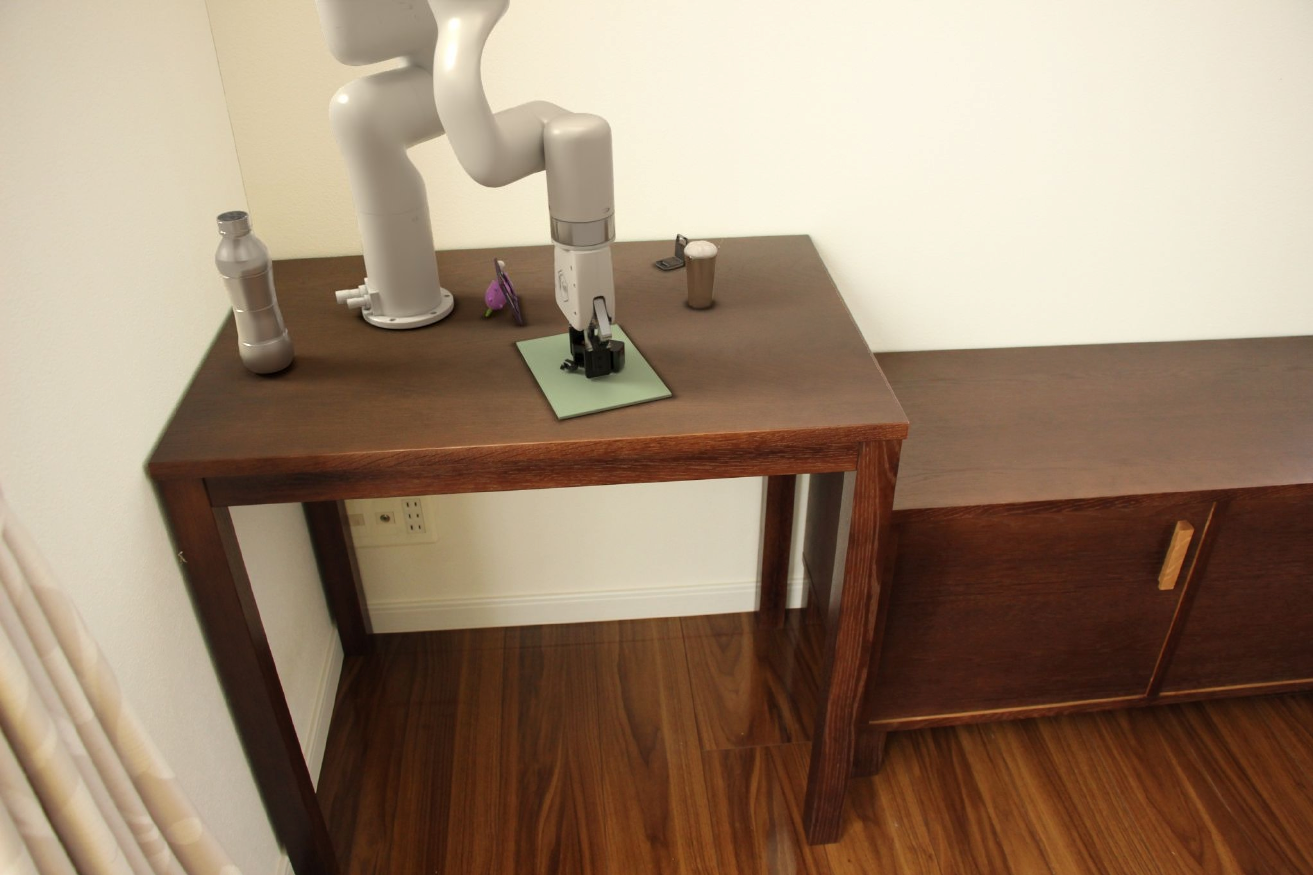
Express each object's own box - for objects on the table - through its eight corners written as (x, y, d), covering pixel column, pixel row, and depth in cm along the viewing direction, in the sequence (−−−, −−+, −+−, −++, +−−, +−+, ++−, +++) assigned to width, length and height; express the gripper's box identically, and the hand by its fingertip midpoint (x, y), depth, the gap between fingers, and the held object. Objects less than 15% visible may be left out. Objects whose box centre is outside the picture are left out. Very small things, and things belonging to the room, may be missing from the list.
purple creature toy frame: (506, 281, 130) (501, 255, 138) (470, 296, 131) (467, 270, 138) (527, 322, 134) (521, 295, 142) (492, 337, 134) (488, 309, 142)
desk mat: (559, 420, 114) (559, 417, 114) (516, 344, 130) (516, 342, 130) (671, 396, 118) (671, 393, 118) (617, 326, 134) (617, 323, 134)
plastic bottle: (248, 384, 122) (206, 230, 111) (240, 361, 127) (199, 212, 116) (302, 372, 124) (266, 220, 113) (292, 350, 129) (256, 202, 118)
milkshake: (719, 312, 137) (720, 244, 132) (681, 309, 138) (681, 242, 133) (723, 298, 141) (725, 232, 135) (686, 295, 142) (687, 229, 136)
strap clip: (699, 252, 155) (699, 226, 153) (710, 258, 153) (711, 232, 151) (653, 264, 151) (653, 238, 149) (664, 271, 149) (664, 244, 147)
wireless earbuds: (574, 356, 126) (573, 333, 124) (626, 364, 124) (626, 341, 122) (559, 372, 123) (558, 349, 121) (612, 382, 120) (611, 358, 119)
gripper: (531, 207, 119) (543, 340, 129) (573, 258, 106) (582, 403, 116) (591, 198, 121) (597, 330, 131) (638, 248, 108) (642, 391, 118)
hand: (590, 363), depth 123 cm, fingers closed on wireless earbuds, 5 cm apart
